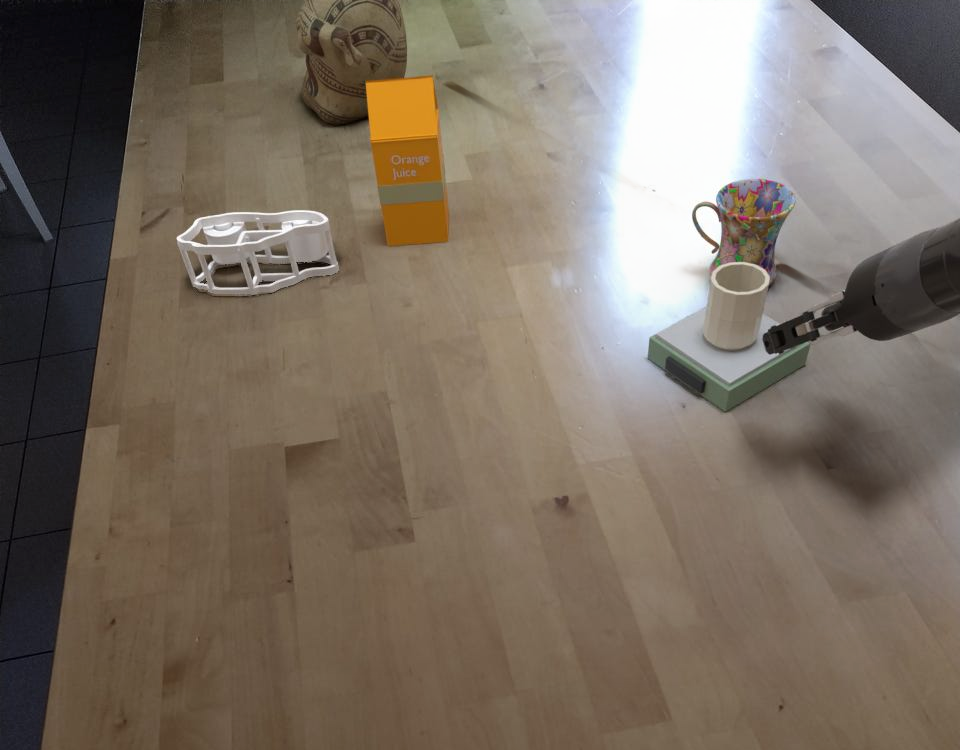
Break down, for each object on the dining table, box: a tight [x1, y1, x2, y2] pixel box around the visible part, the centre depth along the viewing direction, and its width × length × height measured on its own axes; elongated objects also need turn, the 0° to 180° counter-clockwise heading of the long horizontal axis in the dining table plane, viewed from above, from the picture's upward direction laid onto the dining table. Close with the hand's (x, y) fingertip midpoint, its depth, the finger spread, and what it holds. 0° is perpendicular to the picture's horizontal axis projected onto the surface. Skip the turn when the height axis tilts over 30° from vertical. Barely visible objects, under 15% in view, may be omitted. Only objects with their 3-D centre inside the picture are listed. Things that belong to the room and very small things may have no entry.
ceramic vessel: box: [295, 0, 408, 126], centre depth 142 cm, size 19×21×30 cm
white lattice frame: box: [176, 209, 340, 295], centre depth 122 cm, size 20×11×7 cm, turn 85°
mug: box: [691, 178, 797, 286], centre depth 112 cm, size 12×9×11 cm
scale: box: [647, 305, 811, 413], centre depth 105 cm, size 14×13×4 cm
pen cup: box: [703, 262, 770, 350], centre depth 101 cm, size 6×6×8 cm
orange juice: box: [365, 75, 450, 247], centre depth 121 cm, size 8×9×20 cm
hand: (801, 330), depth 92 cm, fingers open, 8 cm apart
